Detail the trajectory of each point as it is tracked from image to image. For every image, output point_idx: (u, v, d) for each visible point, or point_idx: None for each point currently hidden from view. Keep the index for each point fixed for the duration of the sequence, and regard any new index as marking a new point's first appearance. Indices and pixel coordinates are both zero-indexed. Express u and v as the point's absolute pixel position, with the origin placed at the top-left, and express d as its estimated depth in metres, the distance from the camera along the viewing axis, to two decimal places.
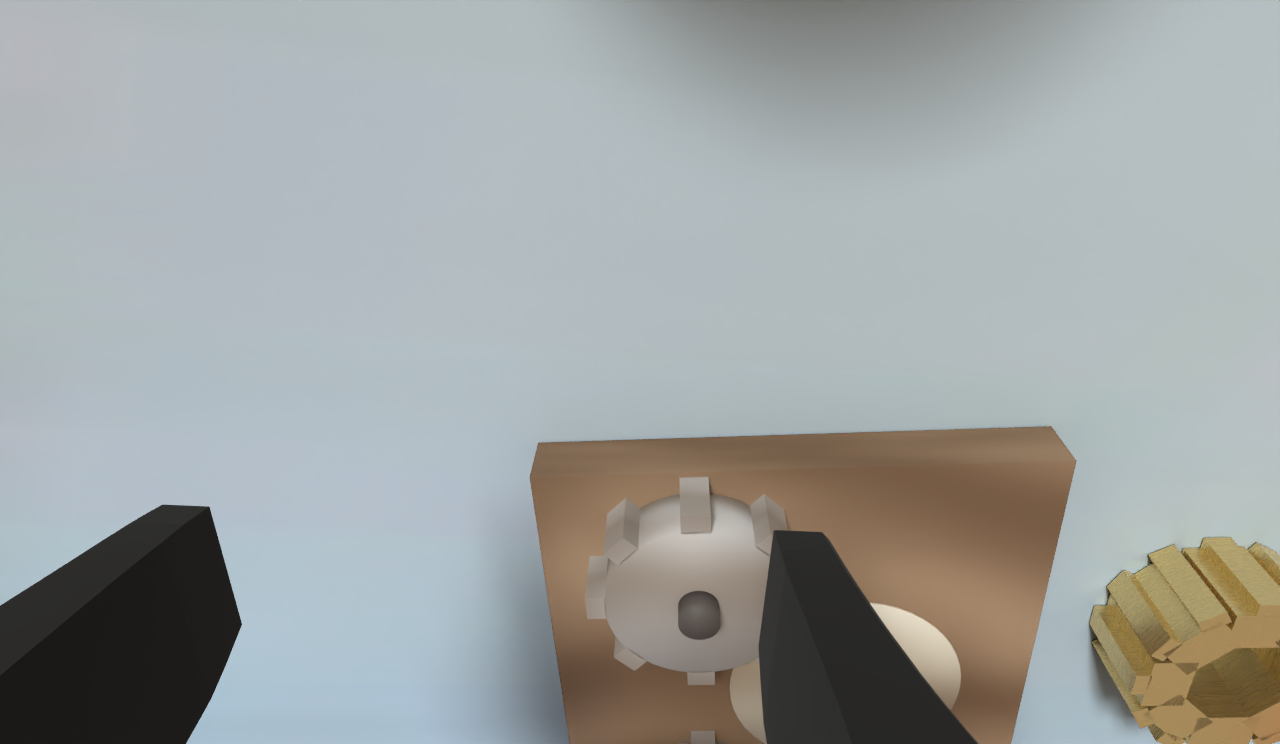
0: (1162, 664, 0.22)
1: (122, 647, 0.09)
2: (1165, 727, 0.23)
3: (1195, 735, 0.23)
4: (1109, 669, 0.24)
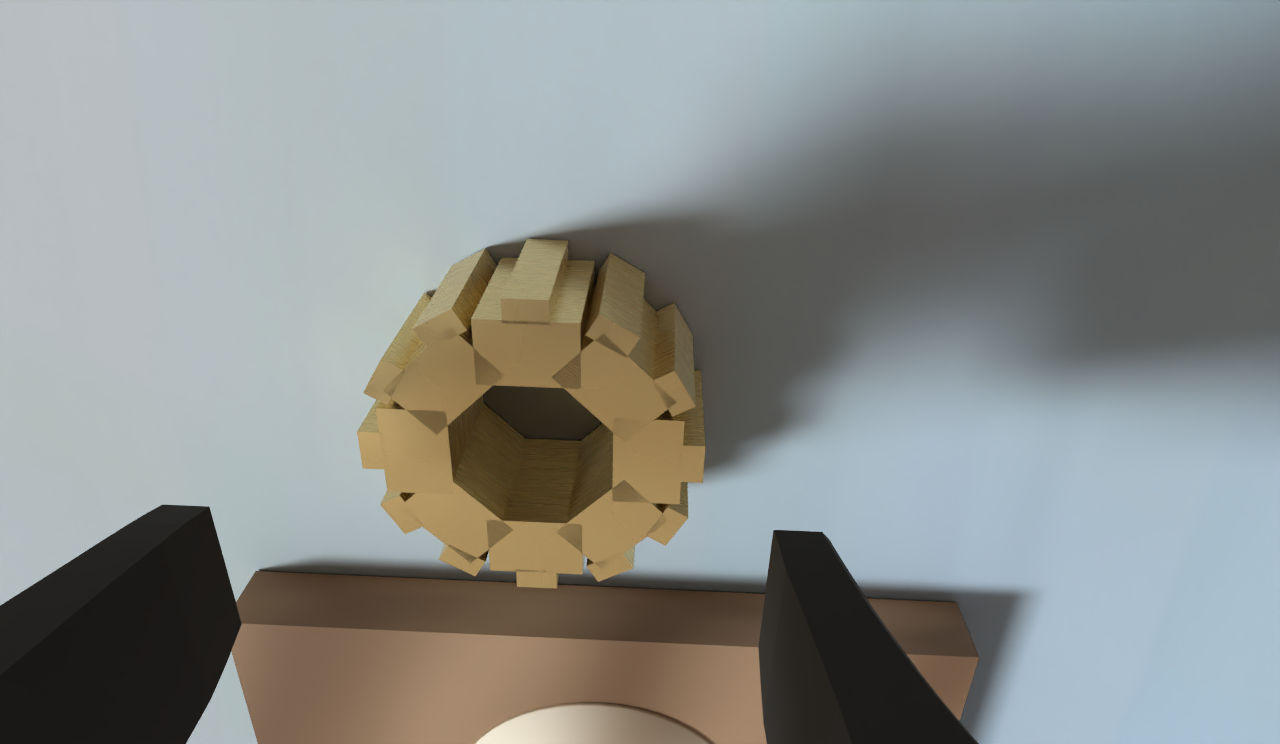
0: (492, 561, 0.14)
1: (122, 647, 0.09)
2: (633, 538, 0.14)
3: (655, 497, 0.14)
4: None
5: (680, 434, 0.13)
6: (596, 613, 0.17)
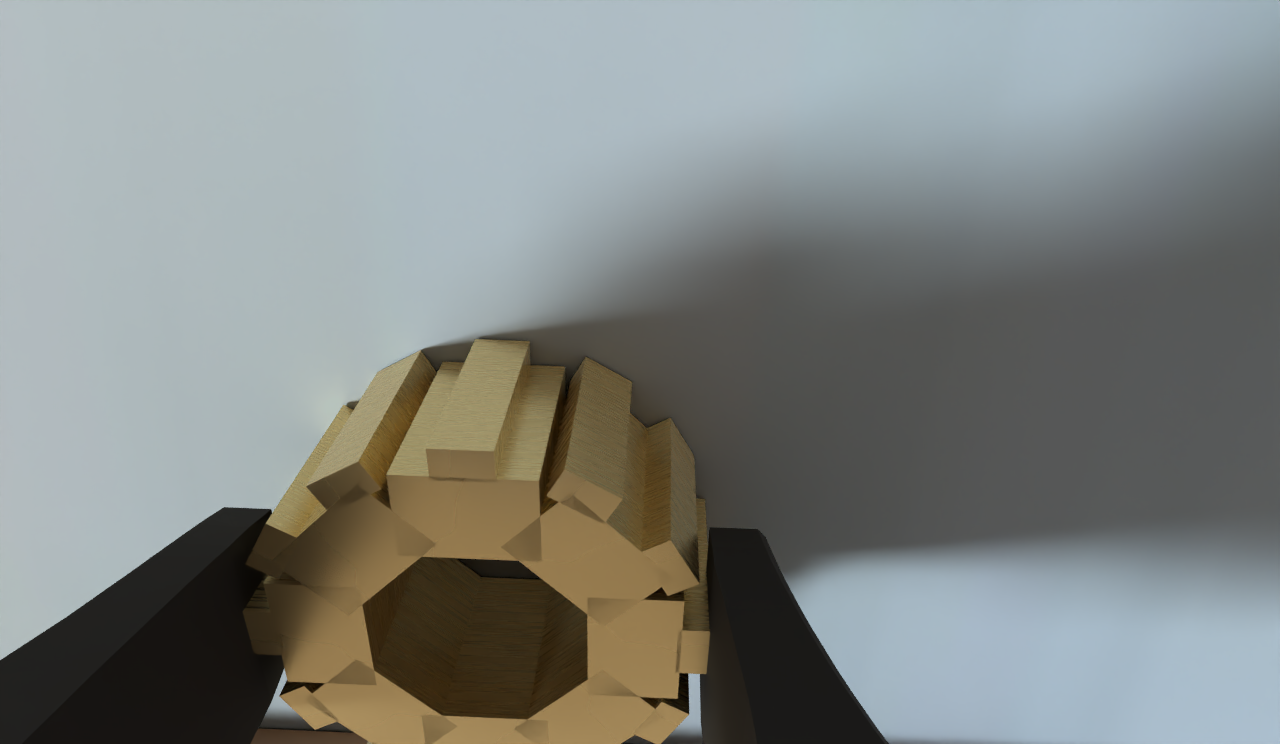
0: None
1: (194, 650, 0.09)
2: (616, 737, 0.11)
3: (645, 691, 0.10)
4: None
5: (678, 617, 0.10)
6: None
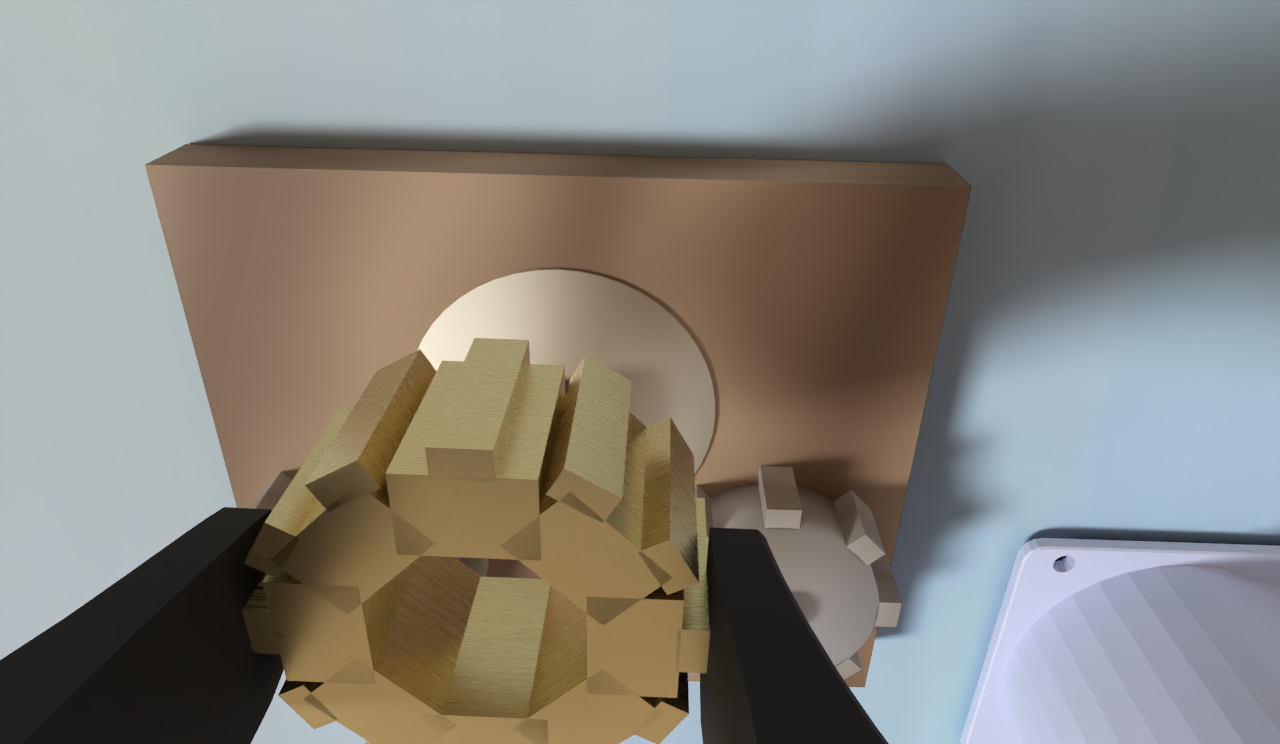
0: None
1: (194, 650, 0.09)
2: (616, 736, 0.11)
3: (644, 690, 0.10)
4: None
5: (678, 616, 0.10)
6: (554, 164, 0.16)
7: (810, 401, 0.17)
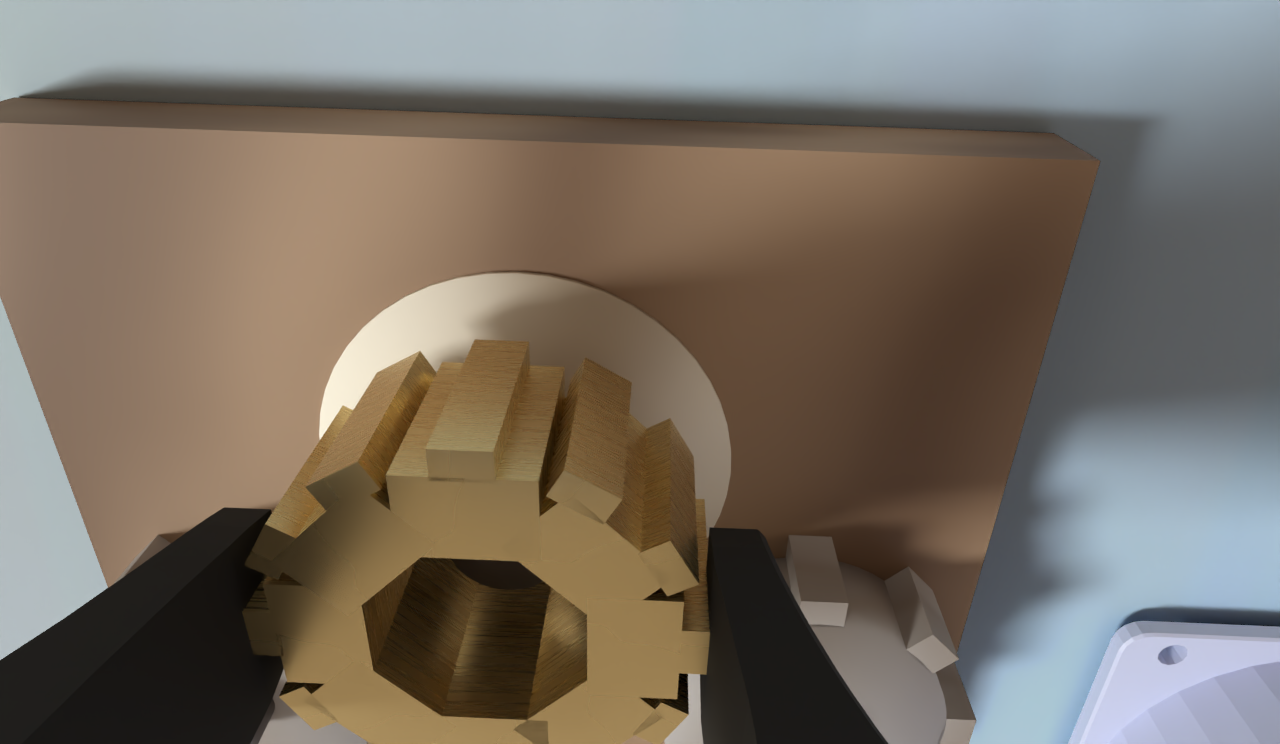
0: None
1: (194, 650, 0.09)
2: (616, 737, 0.11)
3: (644, 691, 0.10)
4: None
5: (678, 618, 0.10)
6: (513, 126, 0.11)
7: (859, 453, 0.13)
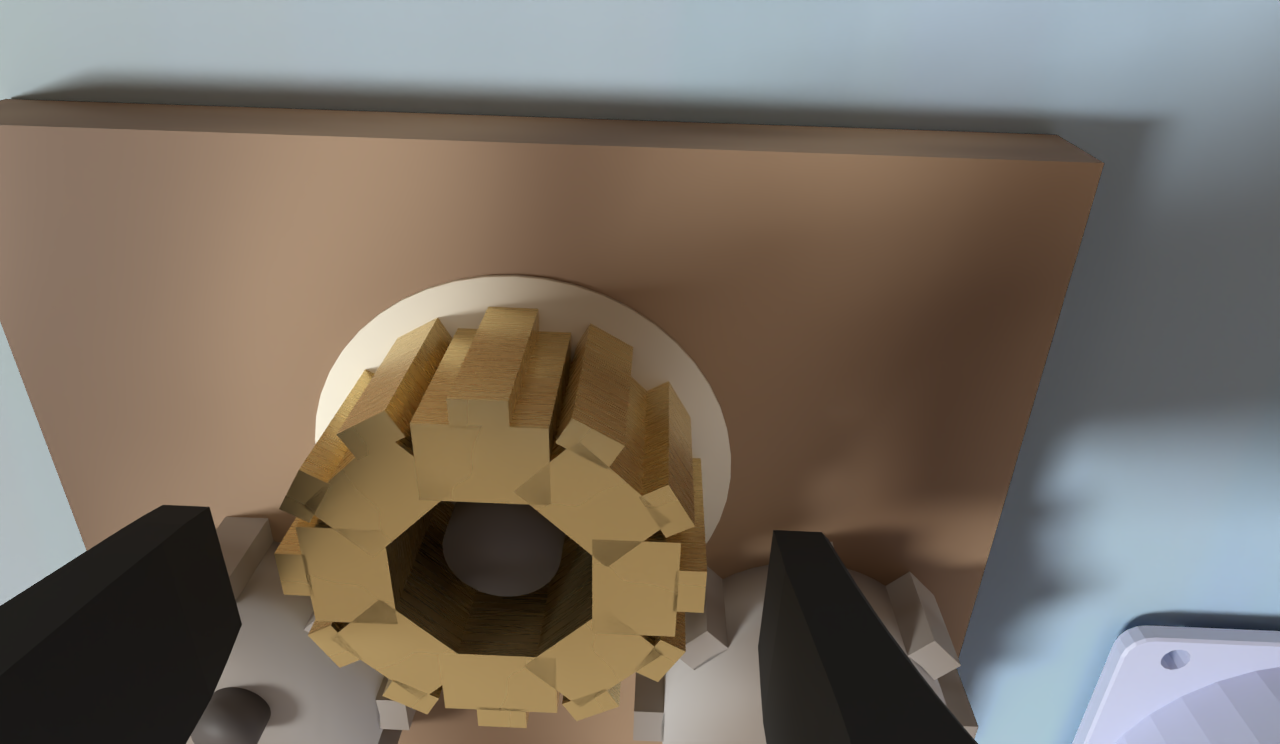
0: (448, 698, 0.12)
1: (123, 647, 0.09)
2: (618, 674, 0.12)
3: (645, 629, 0.11)
4: None
5: (676, 558, 0.11)
6: (510, 128, 0.11)
7: (860, 457, 0.13)
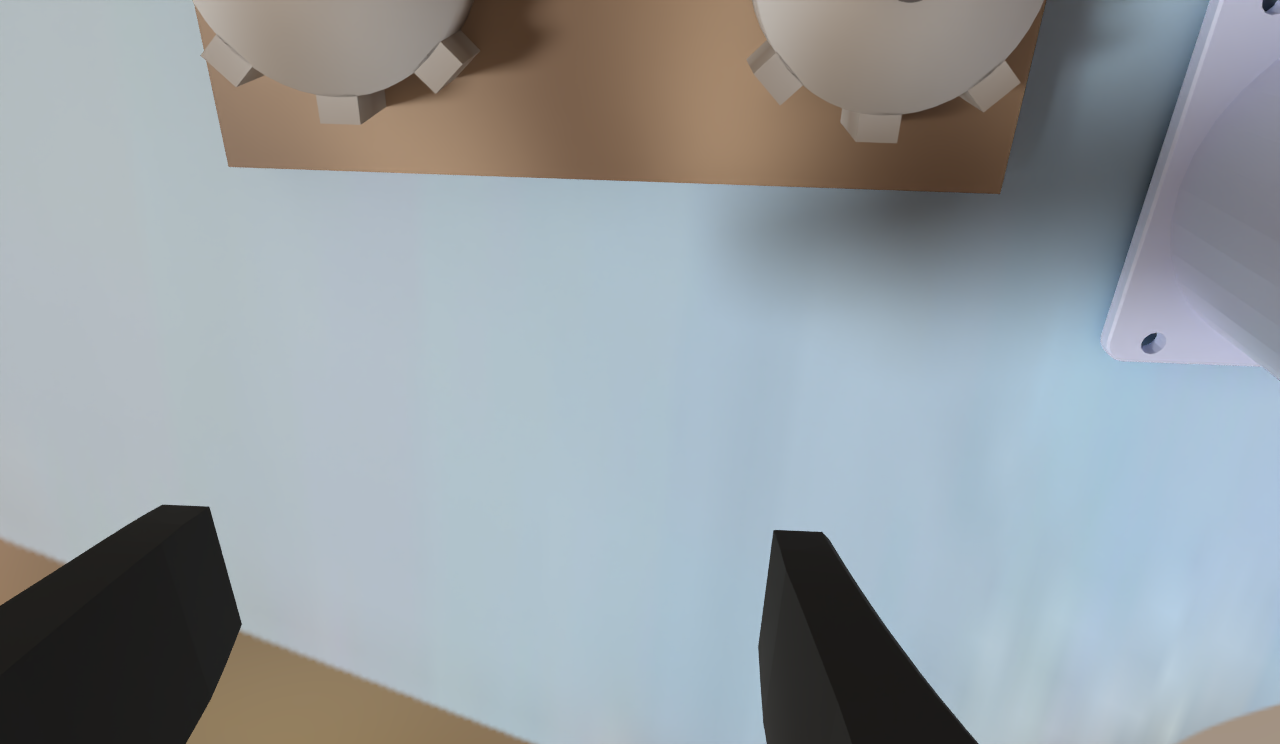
0: None
1: (122, 647, 0.09)
2: None
3: None
4: None
5: None
6: None
7: None
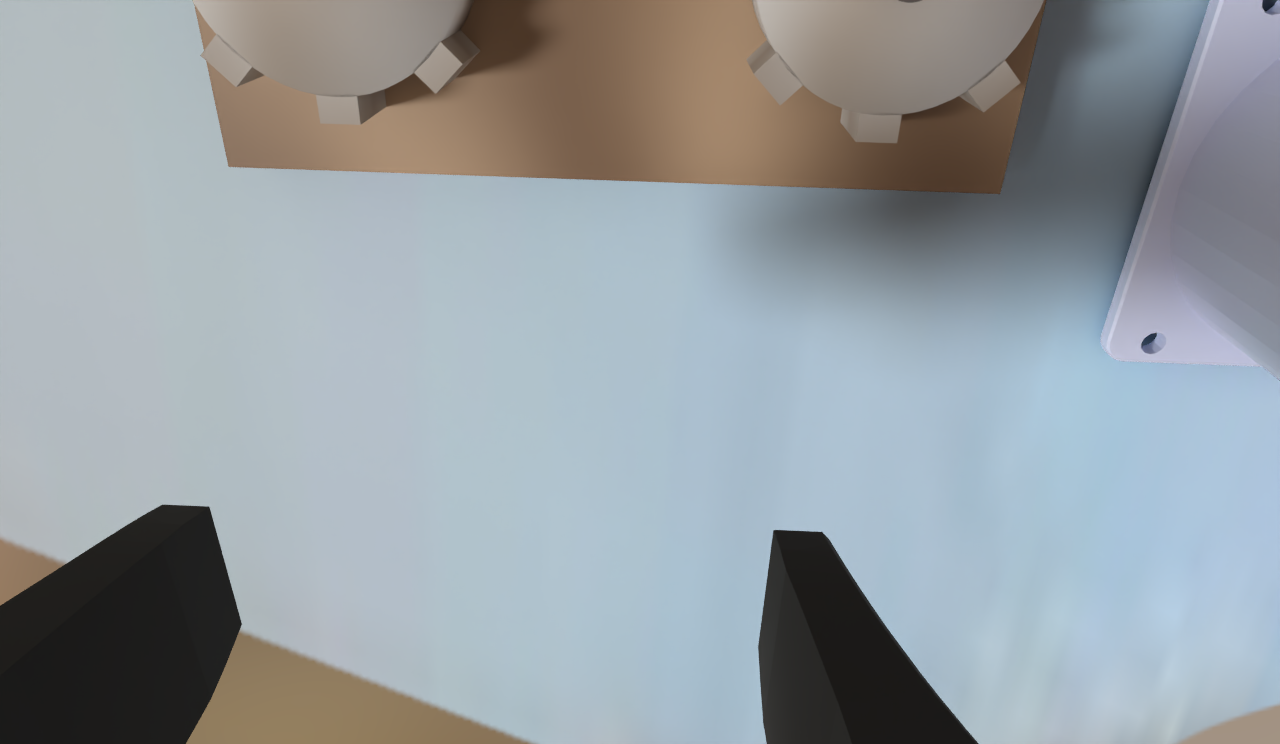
0: None
1: (122, 647, 0.09)
2: None
3: None
4: None
5: None
6: None
7: None
